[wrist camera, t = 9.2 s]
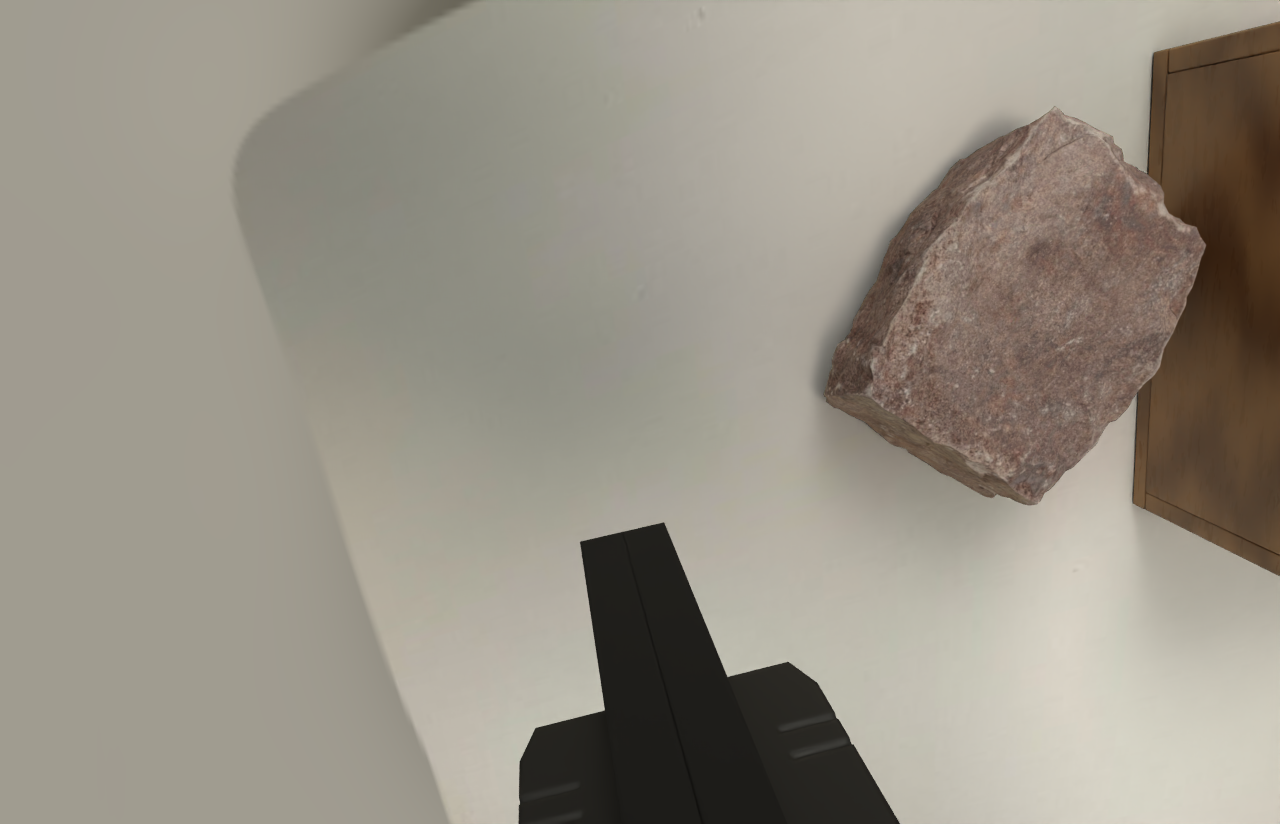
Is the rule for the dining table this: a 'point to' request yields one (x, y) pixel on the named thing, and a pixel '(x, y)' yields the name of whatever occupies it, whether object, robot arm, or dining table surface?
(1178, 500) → the box
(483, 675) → the dining table surface
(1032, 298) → the stone
